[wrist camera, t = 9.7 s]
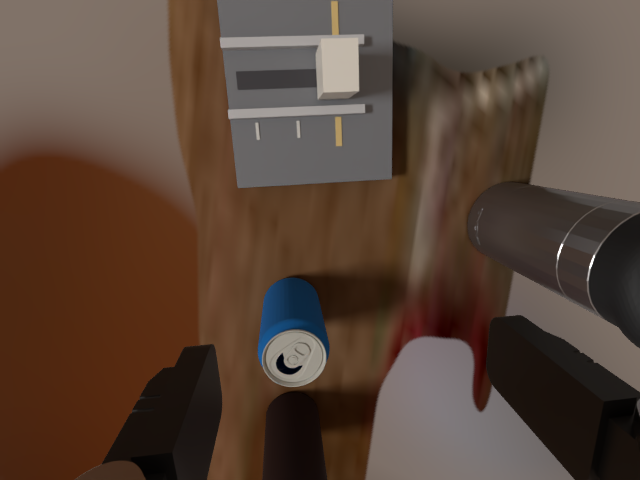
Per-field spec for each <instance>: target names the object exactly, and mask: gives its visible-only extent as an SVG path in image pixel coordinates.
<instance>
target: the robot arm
mask: <svg viewBox="0 0 640 480" xmlns="http://www.w3.org/2000/svg"><path fill="white" fill-rule="evenodd" d="M468 234H469V237H470V240H471V242H472V244H473V245H474V246H475V247H476V249H477V250H478V251H480V252H481V253H483V254H485V255H486V256H488V257H490V258H492V259H494V260H496V261H497V262H499V263H501V264H503V265H505V266H506V267H508V268H510V269H512V270H514V271H516V272H517V273H519V274H521V275H523V276H525V277H527V278H529V279H530V280H532V281H534V282H536V283H538V284H540V285H541V286H543V287H545V288H547V289H549V290H551V291H553V292H554V293H556V294H558V295H560V296H562V297H564V298H566V299H567V300H569V301H571V302H573V303H575V304H577V305H579V306H581V307H583V308H584V309H586V310H588V311H590V312H592V313H594V314H596V315H597V316H599V317H601V318H603V319H605V320H607V321H608V322H610V323H612V324H614V325H615V326H617V327H619V328H620V330H621V331H622V333H623V334H624V335H625V336H626V337H627V338H628V339H629V340H630V341H631V342H632V343H634V344H635V345H636V346H637V347H639V348H640V202H634V201H627V200H620V199H615V198H609V197H602V196H596V195H590V194H584V193H578V192H571V191H565V190H559V189H553V188H547V187H540V186H535V185H529V184H522V183H516V182H504V183H500V184H497V185H495V186H493V187H491V188H489V189H488V190H486V191H485V192H484V193H482V194H481V196H480V197H479V198H478V199H477V200H476V202H475V203H474V205H473V207H472V209H471V211H470V214H469V218H468ZM486 368H487V373H488V376H489V379H490V381H491V383H492V385H493V386H494V388H495V389H496V390H497V391H498V392H499V393H500V394H501V396H502V397H503V398H504V399H505V400H506V401H507V402H508V404H509V405H510V406H511V407H512V408H513V409H514V410H515V412H516V413H517V414H518V415H519V416H520V417H521V418H522V420H523V421H524V422H525V423H526V424H527V425H528V426H529V428H530V429H531V430H532V431H533V432H534V433H535V435H536V436H537V437H538V438H539V439H540V440H541V441H542V442H543V444H544V445H545V446H546V447H547V448H548V449H549V451H550V452H551V453H552V454H553V455H554V456H555V457H556V458H557V460H558V461H559V462H560V463H561V464H562V465H563V467H564V468H565V469H566V470H567V471H568V472H569V473H570V475H571V476H572V477H573V478H574V479H575V480H640V392H639V391H637V390H636V389H634V388H633V387H631V386H630V385H628V384H627V383H626V382H624V381H623V380H621V379H619V378H618V377H617V376H615V375H614V374H613V373H611V372H610V371H608V370H607V369H605V368H604V367H602V366H601V365H600V364H598V363H594V362H593V360H592V359H591V358H590V357H588V356H587V355H585V354H584V353H580V352H579V350H578V349H577V348H575V347H574V346H572V345H571V344H569V343H568V342H566V341H565V340H564V339H561V338H559V337H557V336H554V335H552V334H550V333H547V332H545V331H543V330H542V329H540V328H539V327H538V326H536V325H535V324H533V323H532V322H531V321H529V320H528V319H526V318H525V317H523V316H521V315H516V316H506V317H496V318H493V319H492V321H491V323H490V328H489V340H488V351H487V362H486ZM221 412H222V392H221V385H220V378H219V371H218V364H217V357H216V351H215V347H214V345H213V344H210V345H200V346H190V347H185V348H184V349H183V351H182V352H181V355H180V357H179V359H178V361H177V363H176V365H175V367H169V368H163V369H162V370H161V371H160V372H159V373H158V374H157V375H155V377H153V378H152V379H151V380H150V381H149V382H148V383H147V385H146V387H145V389H144V390H143V392H142V394H141V396H140V400H138V401H137V403H136V404H135V406H134V408H133V410H132V413H131V414H130V415H129V417H128V419H127V420H126V422H125V424H124V426H123V428H122V429H121V431H120V433H119V434H118V437H117V438H116V440H115V442H114V443H113V445H112V447H111V449H110V450H109V452H108V454H107V456H106V457H105V459H104V461H103V463H102V464H101V465H100V466H97V467H95V468H93V469H91V470H89V471H87V472H86V473H84V474H82V475H81V476H79V477H78V478H77V479H75V480H207V476H208V471H209V467H210V463H211V458H212V454H213V449H214V445H215V441H216V436H217V432H218V427H219V423H220V419H221Z"/></svg>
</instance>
